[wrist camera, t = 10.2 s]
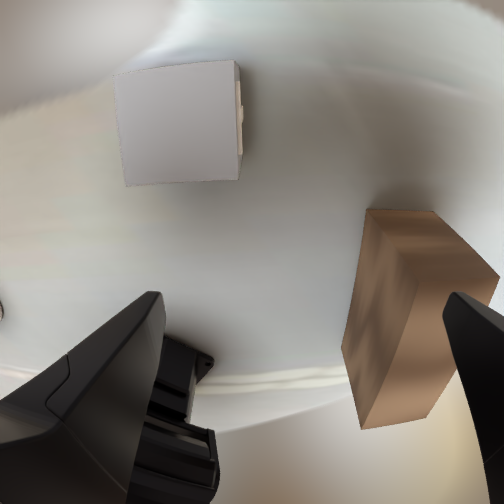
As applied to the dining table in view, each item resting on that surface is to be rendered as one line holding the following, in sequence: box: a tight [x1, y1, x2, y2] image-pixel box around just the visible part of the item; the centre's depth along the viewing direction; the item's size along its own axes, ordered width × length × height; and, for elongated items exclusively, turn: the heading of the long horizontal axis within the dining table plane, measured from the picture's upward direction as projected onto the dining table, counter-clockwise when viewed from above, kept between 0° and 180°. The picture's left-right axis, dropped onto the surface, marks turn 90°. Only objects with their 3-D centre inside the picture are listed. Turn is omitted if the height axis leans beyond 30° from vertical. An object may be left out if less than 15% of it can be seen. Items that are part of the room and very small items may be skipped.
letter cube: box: [113, 60, 243, 186], centre depth 14 cm, size 5×5×5 cm
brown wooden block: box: [341, 209, 500, 430], centre depth 19 cm, size 12×5×8 cm, turn 1°
